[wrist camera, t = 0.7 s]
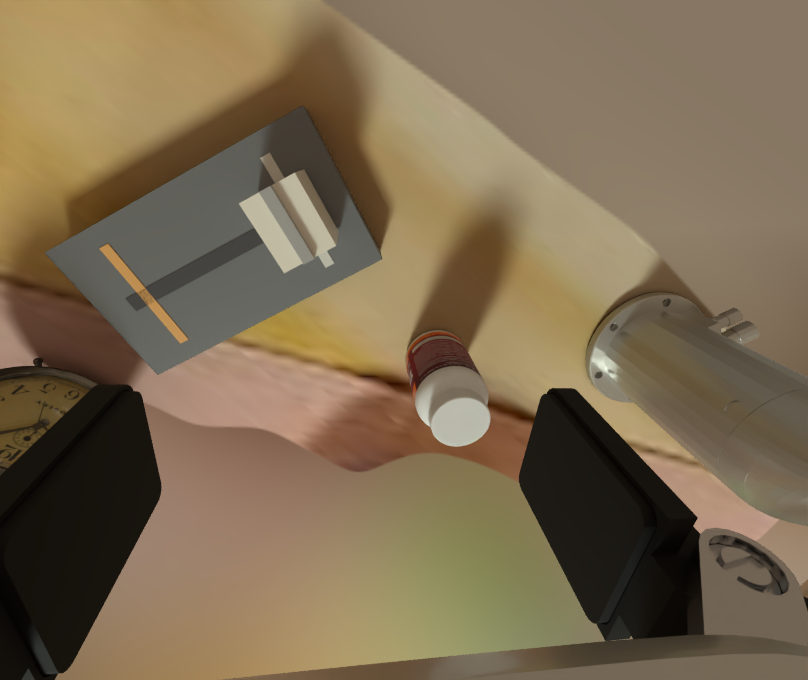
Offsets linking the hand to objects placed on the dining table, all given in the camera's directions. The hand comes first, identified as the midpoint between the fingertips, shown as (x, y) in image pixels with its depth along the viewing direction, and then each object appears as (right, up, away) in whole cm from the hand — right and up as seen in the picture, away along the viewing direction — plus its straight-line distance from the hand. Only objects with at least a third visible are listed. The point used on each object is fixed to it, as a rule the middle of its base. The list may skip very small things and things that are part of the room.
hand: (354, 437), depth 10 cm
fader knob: (-7, +12, +20) cm, 25 cm away
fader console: (-13, +10, +24) cm, 29 cm away
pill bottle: (+4, +1, +31) cm, 31 cm away
